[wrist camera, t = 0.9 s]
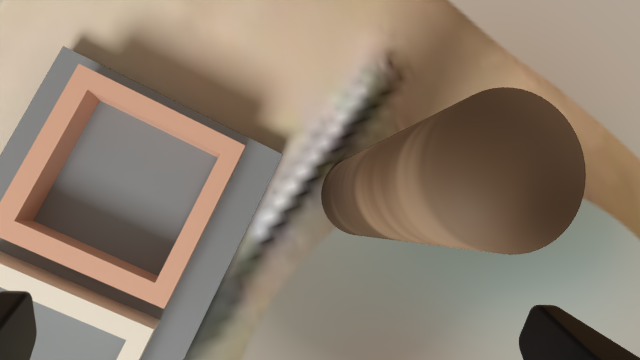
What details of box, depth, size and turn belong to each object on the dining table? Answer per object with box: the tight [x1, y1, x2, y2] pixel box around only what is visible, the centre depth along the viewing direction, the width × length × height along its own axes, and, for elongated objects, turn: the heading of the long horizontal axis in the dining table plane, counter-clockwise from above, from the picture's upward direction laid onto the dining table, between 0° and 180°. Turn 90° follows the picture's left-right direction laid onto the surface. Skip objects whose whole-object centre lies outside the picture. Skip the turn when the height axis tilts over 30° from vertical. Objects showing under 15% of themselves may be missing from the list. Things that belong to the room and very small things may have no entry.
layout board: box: [0, 46, 283, 360], centre depth 22 cm, size 20×11×3 cm, turn 154°
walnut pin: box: [321, 87, 586, 254], centre depth 19 cm, size 4×4×14 cm
